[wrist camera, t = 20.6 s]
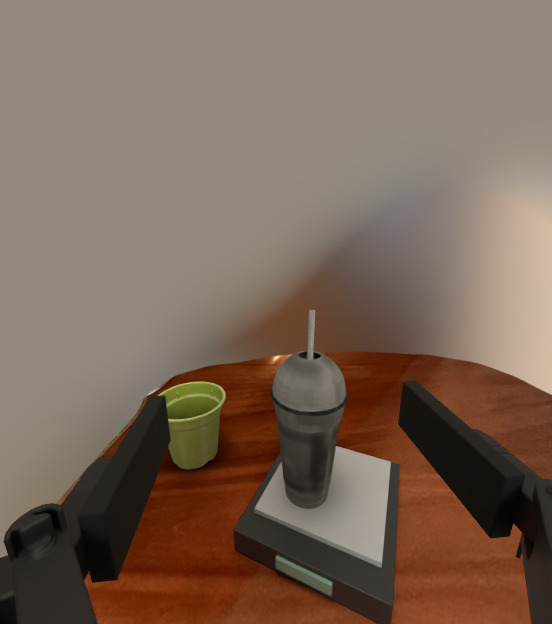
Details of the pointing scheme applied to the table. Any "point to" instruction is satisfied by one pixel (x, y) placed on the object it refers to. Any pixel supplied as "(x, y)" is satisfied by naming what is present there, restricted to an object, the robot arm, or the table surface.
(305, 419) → the beverage cup
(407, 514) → the table surface
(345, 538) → the scale
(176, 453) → the plant pot
